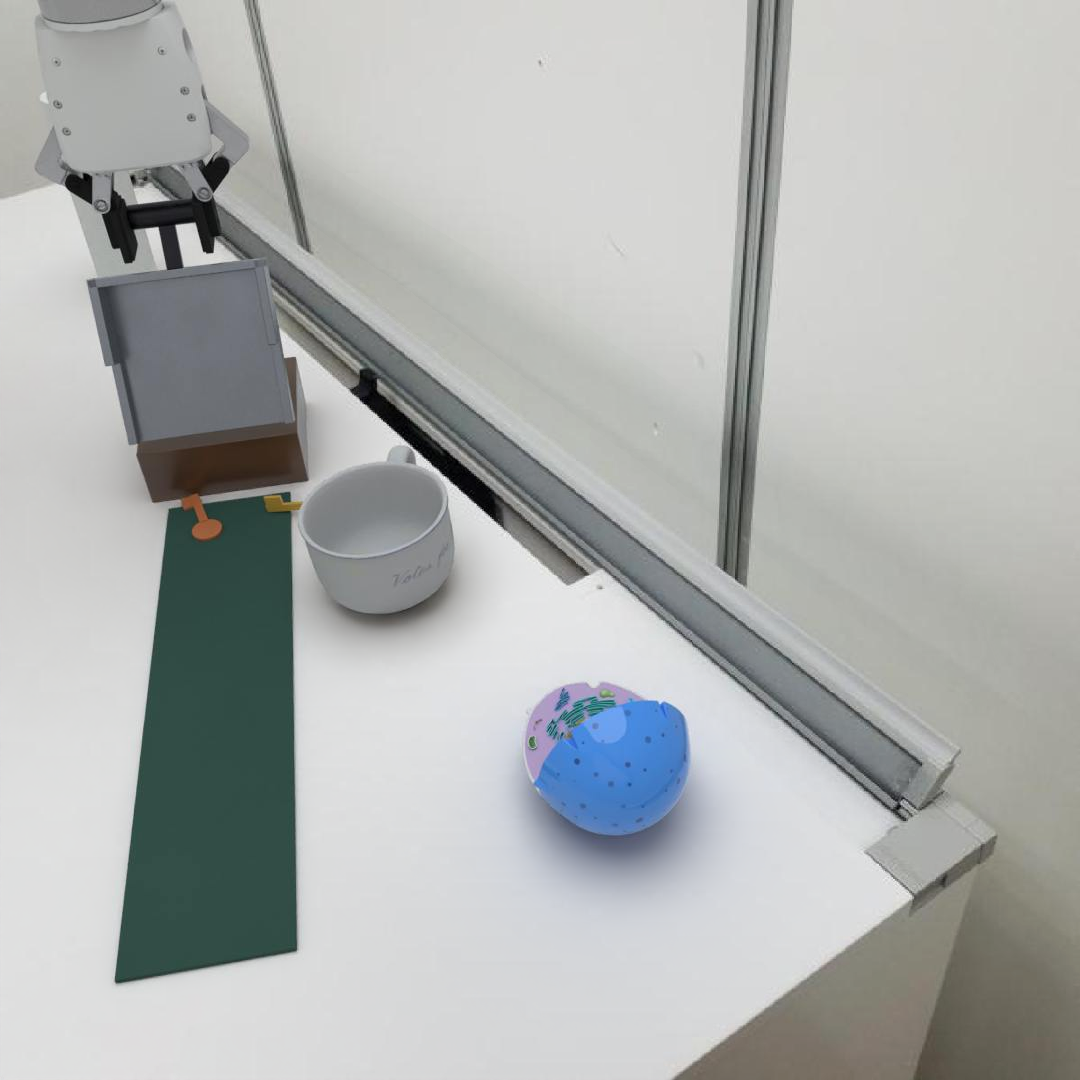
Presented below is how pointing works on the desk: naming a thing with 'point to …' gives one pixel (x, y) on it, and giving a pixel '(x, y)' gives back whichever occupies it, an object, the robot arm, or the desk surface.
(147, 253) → the paper towel roll
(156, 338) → the grey letter tray
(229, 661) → the mat
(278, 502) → the brass key
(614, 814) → the cell model
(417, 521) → the teacup
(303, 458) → the stand
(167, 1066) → the desk surface
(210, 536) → the copper key
